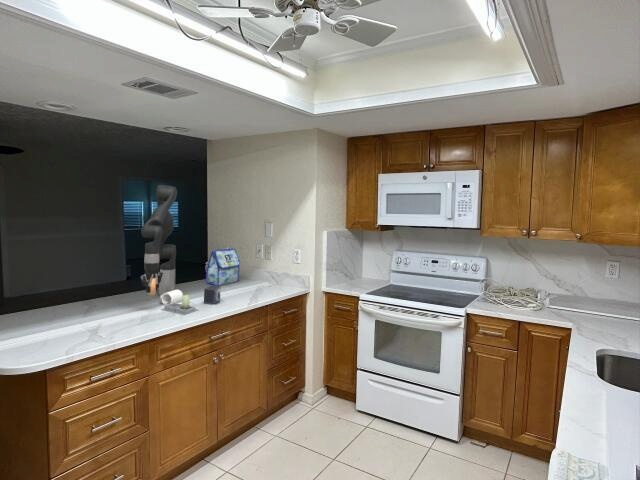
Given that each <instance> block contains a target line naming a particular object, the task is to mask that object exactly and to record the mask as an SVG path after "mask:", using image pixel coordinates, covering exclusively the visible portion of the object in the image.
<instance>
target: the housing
mask: <svg viewBox="0 0 640 480" xmlns="http://www.w3.org/2000/svg"><path fill="white" fill-rule="evenodd" d="M160 311H165V312H169V313H174V314H178V315H182V316H187V315H189V314H192V313H194V312H195V313H196V312H198V311H199V309H197V308H196V306H191V305H189V309H187V310H185V309H182V303H179V302H177V303H172V304H170V303H167V304H166V305H165V304H164V308H162V309H160Z"/></svg>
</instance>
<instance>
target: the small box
mask: <svg viewBox="0 0 640 480" xmlns="http://www.w3.org/2000/svg"><path fill="white" fill-rule="evenodd" d="M203 292H204V293H203V305H210V306H213V305H218V304H220V303H221V285H219V286H216V285H214V284H211V285H210V286H207V287H205V288H204V290H203Z"/></svg>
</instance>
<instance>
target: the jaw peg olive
mask: <svg viewBox="0 0 640 480" xmlns="http://www.w3.org/2000/svg"><path fill="white" fill-rule="evenodd" d="M181 304H182V309H185V310H187V309H189V306H190V294H183V295H182V301H181Z"/></svg>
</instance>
